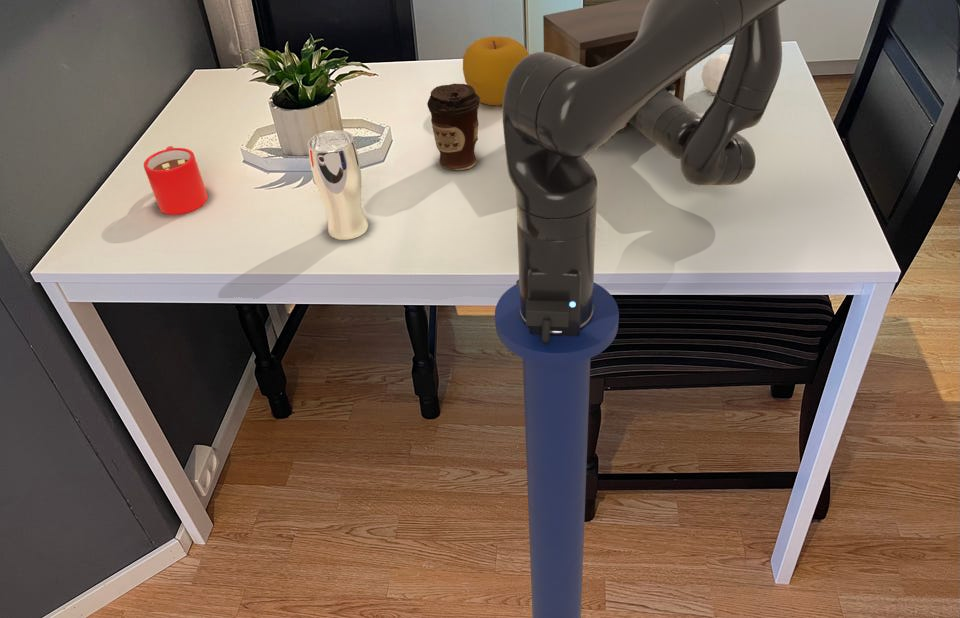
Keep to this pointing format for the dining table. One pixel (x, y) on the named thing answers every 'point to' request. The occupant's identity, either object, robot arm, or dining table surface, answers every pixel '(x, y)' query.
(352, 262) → the dining table surface
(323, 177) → the beer glass
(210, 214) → the dining table surface
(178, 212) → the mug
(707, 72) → the ornament
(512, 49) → the apple
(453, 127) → the coffee cup
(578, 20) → the cubby
